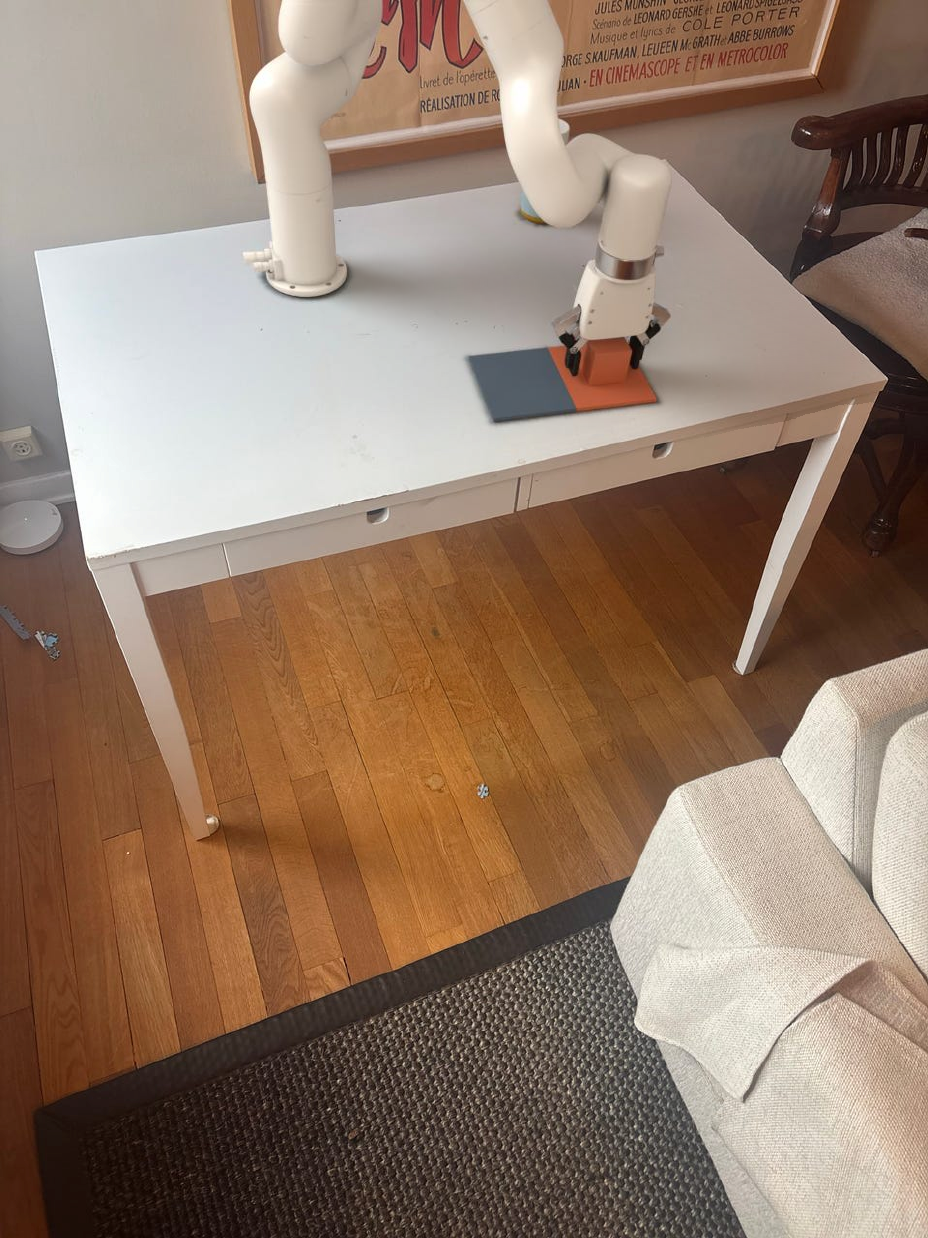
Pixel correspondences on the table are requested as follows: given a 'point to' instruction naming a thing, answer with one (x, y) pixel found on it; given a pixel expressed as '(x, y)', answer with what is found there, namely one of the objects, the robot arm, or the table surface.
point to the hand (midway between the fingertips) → (601, 366)
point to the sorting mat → (548, 385)
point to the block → (605, 360)
